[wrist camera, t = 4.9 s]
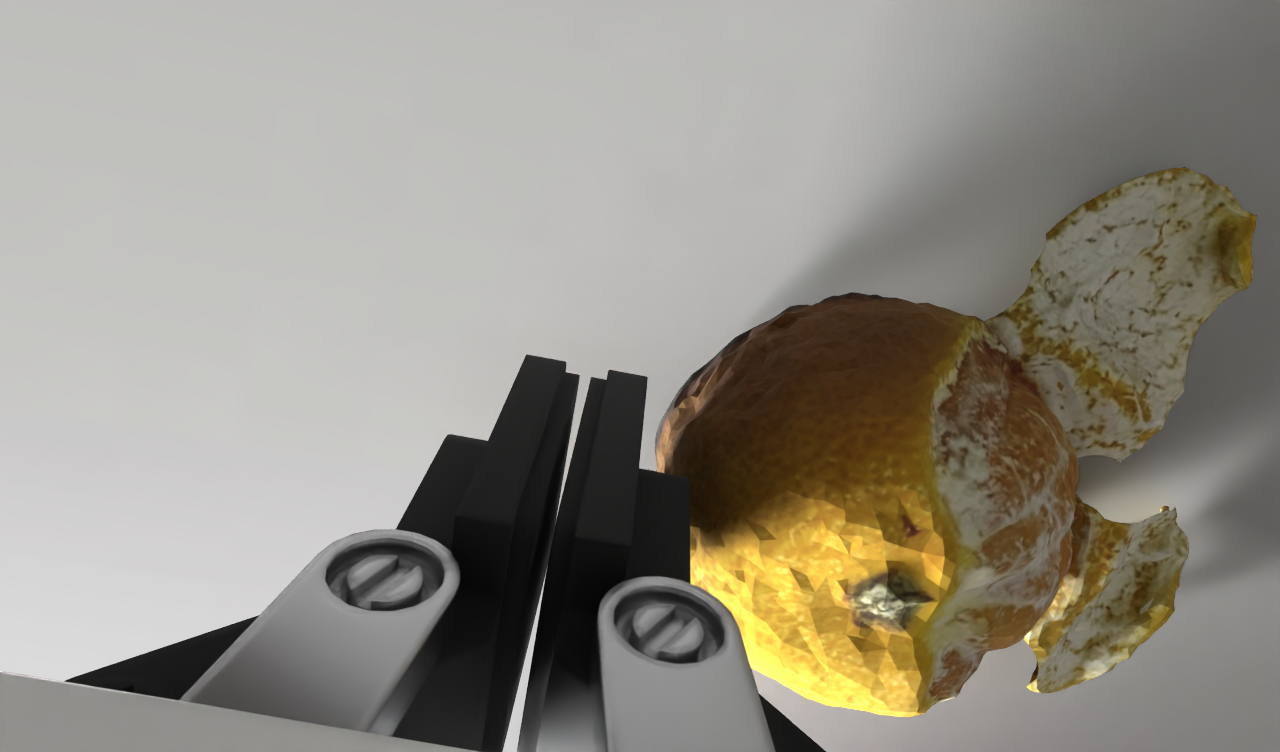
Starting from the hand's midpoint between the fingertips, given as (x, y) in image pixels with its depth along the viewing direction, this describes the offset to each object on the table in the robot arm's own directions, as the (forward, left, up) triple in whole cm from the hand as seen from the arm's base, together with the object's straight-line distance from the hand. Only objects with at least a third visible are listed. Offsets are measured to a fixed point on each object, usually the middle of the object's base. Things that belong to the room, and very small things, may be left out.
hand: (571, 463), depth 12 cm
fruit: (+2, +6, -2) cm, 6 cm away
